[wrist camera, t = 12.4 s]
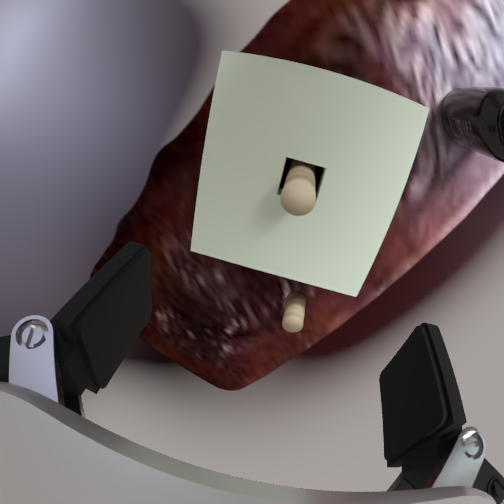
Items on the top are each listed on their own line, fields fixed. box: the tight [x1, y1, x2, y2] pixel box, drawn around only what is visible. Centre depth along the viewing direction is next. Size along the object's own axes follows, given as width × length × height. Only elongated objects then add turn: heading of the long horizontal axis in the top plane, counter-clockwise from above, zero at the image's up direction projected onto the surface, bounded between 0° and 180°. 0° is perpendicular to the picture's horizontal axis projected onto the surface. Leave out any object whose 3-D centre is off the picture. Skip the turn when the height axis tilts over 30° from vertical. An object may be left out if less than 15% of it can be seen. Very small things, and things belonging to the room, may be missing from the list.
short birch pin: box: [282, 292, 306, 332], centre depth 36 cm, size 2×2×5 cm
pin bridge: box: [191, 51, 429, 297], centre depth 27 cm, size 20×18×6 cm
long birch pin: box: [280, 159, 316, 216], centre depth 25 cm, size 2×2×11 cm
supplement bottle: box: [442, 87, 504, 162], centre depth 17 cm, size 7×7×12 cm
